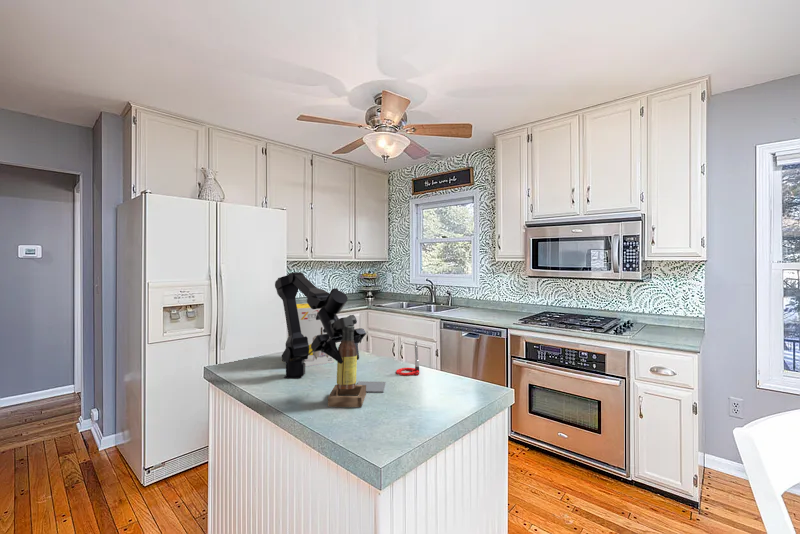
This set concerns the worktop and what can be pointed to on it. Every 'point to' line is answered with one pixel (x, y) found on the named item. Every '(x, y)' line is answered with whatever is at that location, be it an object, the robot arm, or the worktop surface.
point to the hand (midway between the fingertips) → (350, 361)
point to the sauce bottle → (347, 360)
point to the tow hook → (415, 370)
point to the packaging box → (312, 334)
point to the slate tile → (373, 386)
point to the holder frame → (347, 397)
